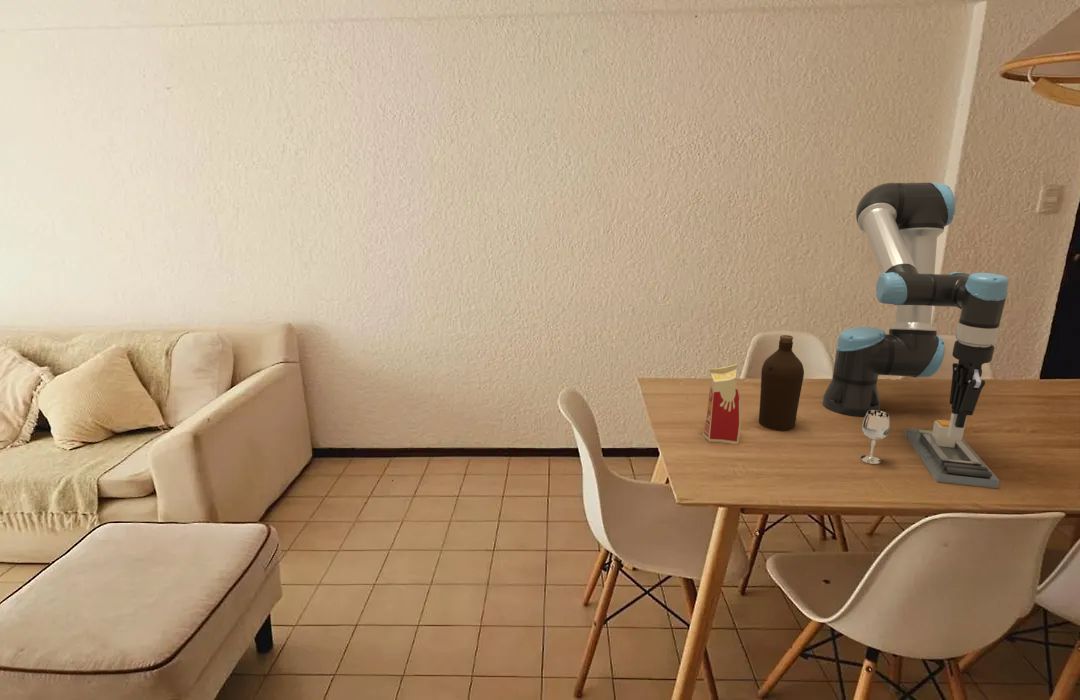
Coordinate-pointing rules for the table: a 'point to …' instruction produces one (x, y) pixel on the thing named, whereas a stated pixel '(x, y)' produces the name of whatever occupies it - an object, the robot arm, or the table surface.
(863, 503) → the table surface
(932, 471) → the panel
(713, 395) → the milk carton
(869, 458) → the wineglass
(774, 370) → the olive oil
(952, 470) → the twin grey rollers
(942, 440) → the toggle
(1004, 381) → the table surface
